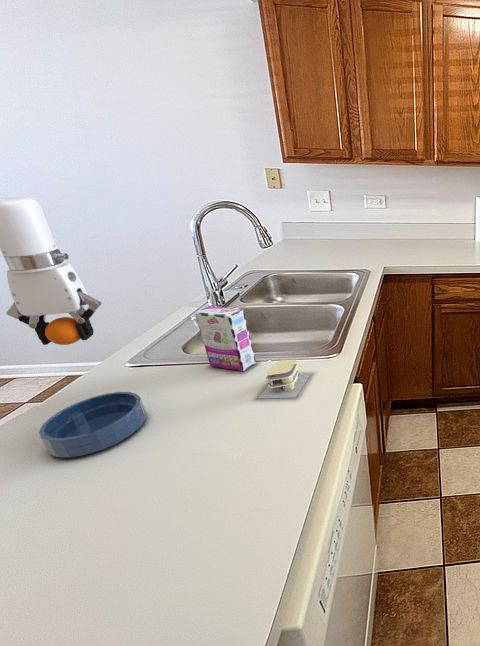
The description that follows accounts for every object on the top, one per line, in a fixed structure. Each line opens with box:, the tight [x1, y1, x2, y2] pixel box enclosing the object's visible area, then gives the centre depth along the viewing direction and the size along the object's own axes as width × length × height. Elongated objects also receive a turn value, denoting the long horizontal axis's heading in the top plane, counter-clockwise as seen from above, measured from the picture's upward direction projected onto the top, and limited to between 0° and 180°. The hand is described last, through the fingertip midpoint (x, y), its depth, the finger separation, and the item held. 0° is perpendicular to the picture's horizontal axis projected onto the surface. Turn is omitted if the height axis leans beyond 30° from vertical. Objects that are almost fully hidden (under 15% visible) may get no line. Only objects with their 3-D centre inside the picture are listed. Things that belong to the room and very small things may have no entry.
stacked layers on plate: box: [258, 359, 311, 399], centre depth 99 cm, size 10×9×6 cm
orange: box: [45, 316, 81, 346], centre depth 86 cm, size 6×6×6 cm
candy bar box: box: [194, 305, 257, 372], centre depth 106 cm, size 11×5×16 cm, turn 76°
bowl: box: [38, 391, 147, 458], centre depth 83 cm, size 15×15×5 cm
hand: (68, 339), depth 86 cm, fingers closed on orange, 6 cm apart
